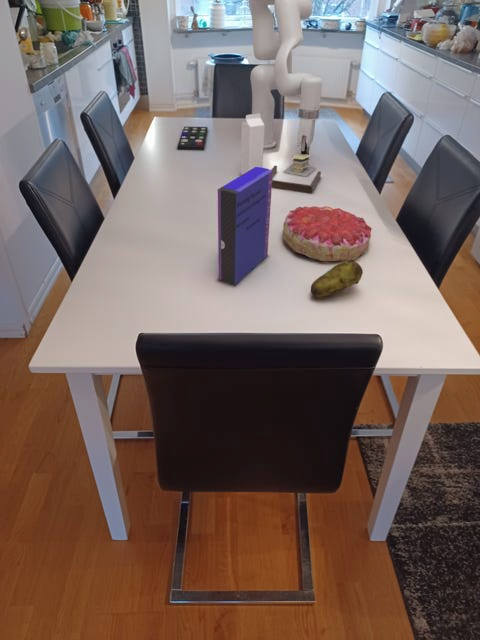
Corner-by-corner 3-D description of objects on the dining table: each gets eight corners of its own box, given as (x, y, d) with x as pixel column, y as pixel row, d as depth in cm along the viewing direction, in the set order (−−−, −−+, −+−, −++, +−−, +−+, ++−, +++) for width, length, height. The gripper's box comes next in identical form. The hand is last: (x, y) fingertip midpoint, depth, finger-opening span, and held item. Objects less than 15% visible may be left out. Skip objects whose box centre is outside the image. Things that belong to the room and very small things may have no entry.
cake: (262, 238, 132) (266, 213, 127) (313, 216, 148) (318, 192, 143) (334, 276, 120) (341, 249, 115) (381, 246, 136) (389, 222, 131)
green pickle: (304, 284, 116) (307, 256, 111) (353, 282, 117) (359, 254, 112) (311, 303, 110) (315, 274, 105) (364, 301, 111) (370, 272, 106)
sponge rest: (274, 171, 179) (274, 165, 178) (320, 178, 175) (321, 171, 173) (262, 186, 167) (263, 179, 166) (311, 193, 163) (312, 186, 161)
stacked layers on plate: (306, 176, 176) (308, 162, 172) (284, 172, 179) (285, 158, 175) (314, 168, 183) (316, 154, 180) (293, 164, 186) (294, 150, 183)
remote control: (177, 149, 198) (177, 145, 197) (184, 129, 222) (184, 125, 221) (203, 150, 198) (203, 145, 197) (207, 130, 222) (207, 125, 221)
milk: (262, 177, 174) (265, 115, 161) (248, 180, 172) (250, 117, 158) (253, 172, 178) (256, 111, 165) (240, 174, 176) (241, 112, 163)
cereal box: (252, 251, 129) (255, 165, 114) (267, 256, 127) (272, 169, 112) (218, 280, 117) (217, 188, 102) (234, 285, 115) (236, 193, 100)
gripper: (302, 108, 180) (298, 156, 191) (294, 117, 168) (290, 167, 180) (322, 110, 178) (316, 158, 189) (315, 119, 167) (309, 170, 178)
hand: (303, 162), depth 184 cm, fingers closed
